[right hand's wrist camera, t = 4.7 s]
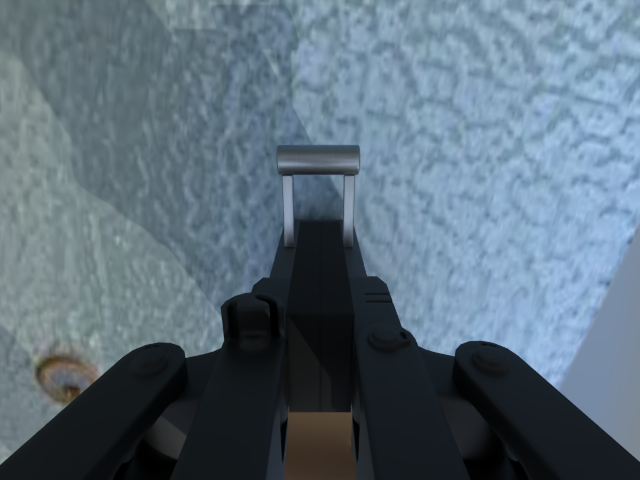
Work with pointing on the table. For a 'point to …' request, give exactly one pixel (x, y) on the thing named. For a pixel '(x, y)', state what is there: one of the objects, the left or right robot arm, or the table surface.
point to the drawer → (317, 163)
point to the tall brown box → (319, 446)
